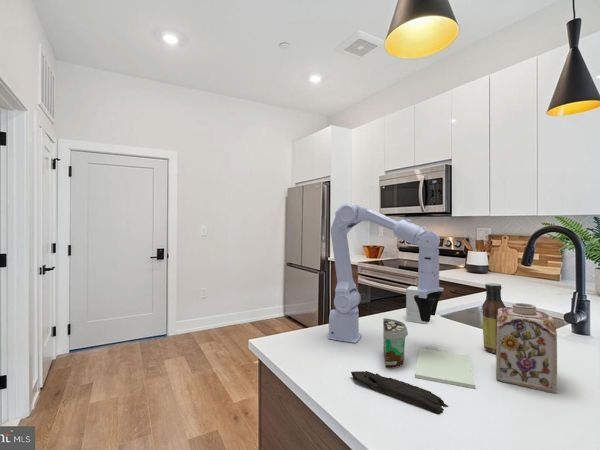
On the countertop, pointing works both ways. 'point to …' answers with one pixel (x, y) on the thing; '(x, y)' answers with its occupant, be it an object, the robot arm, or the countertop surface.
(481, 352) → the countertop surface
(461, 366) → the board
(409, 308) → the supplement box
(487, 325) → the sauce bottle
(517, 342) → the decorative jar
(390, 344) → the food container
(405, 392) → the wood
